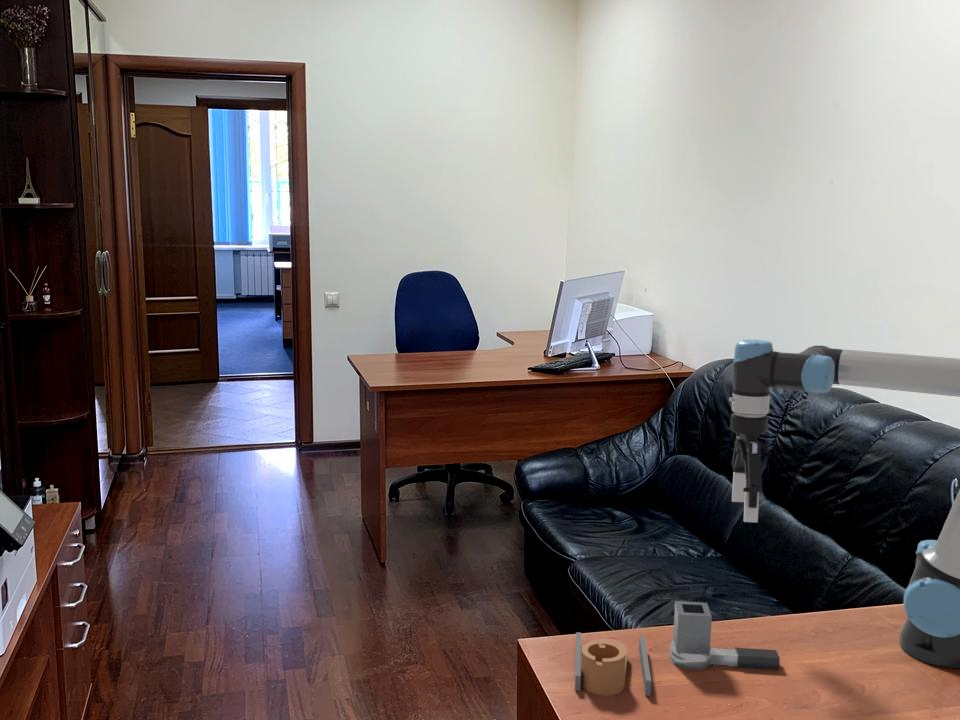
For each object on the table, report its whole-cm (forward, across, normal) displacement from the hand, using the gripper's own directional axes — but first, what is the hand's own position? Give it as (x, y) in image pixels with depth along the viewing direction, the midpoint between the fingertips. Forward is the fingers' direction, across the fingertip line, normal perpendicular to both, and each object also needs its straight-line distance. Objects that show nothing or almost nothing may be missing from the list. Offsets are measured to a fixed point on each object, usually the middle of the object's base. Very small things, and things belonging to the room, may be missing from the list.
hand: (744, 511), depth 187 cm
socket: (+24, +16, -12) cm, 31 cm away
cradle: (+26, +22, -28) cm, 44 cm away
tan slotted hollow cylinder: (+27, +22, -30) cm, 46 cm away
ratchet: (+27, +16, -6) cm, 31 cm away
